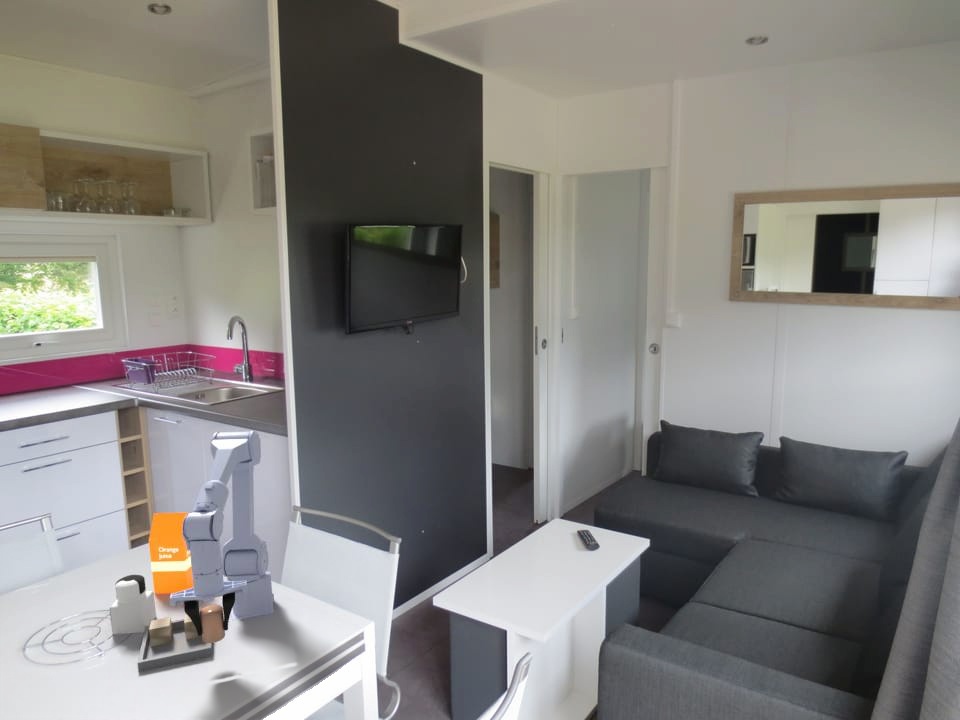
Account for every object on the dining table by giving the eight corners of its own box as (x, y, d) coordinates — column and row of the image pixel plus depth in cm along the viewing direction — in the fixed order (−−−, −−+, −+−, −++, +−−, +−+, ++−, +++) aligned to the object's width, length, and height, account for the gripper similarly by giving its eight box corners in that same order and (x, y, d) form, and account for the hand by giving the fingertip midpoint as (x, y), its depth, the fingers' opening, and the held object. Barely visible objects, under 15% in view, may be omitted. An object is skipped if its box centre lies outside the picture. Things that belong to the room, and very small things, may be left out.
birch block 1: (172, 633, 153) (170, 616, 152) (171, 642, 149) (169, 625, 149) (153, 637, 152) (151, 620, 151) (151, 646, 148) (149, 629, 147)
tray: (213, 623, 158) (212, 613, 158) (211, 658, 144) (210, 647, 144) (146, 636, 153) (145, 626, 153) (138, 674, 139) (137, 662, 139)
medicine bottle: (125, 620, 161) (120, 572, 159) (157, 618, 161) (151, 570, 159) (112, 636, 154) (106, 587, 152) (145, 634, 154) (139, 585, 152)
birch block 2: (205, 626, 155) (204, 610, 155) (205, 635, 152) (203, 619, 151) (186, 630, 154) (185, 614, 153) (185, 639, 150) (184, 622, 150)
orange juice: (188, 593, 173) (180, 518, 170) (153, 593, 173) (145, 519, 170) (201, 578, 180) (194, 506, 177) (168, 579, 181) (160, 507, 178)
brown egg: (225, 629, 143) (222, 602, 142) (225, 640, 139) (222, 613, 138) (202, 634, 141) (200, 607, 140) (202, 645, 137) (199, 617, 136)
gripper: (166, 584, 132) (173, 648, 134) (245, 570, 136) (250, 632, 139) (169, 568, 138) (175, 630, 140) (244, 556, 143) (249, 615, 145)
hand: (213, 630), depth 140 cm, fingers closed on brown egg, 4 cm apart
